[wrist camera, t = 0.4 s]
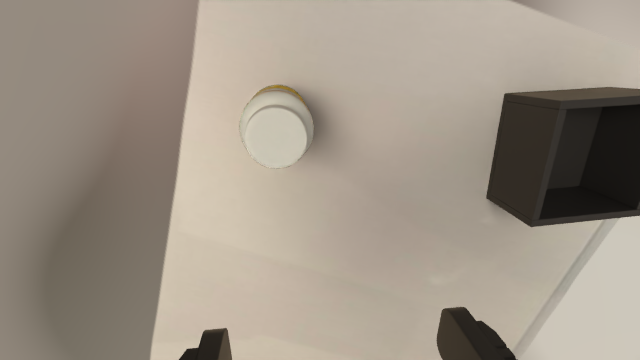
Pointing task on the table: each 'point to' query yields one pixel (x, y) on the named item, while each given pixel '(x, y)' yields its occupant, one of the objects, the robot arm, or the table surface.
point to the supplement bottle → (276, 127)
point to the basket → (568, 156)
